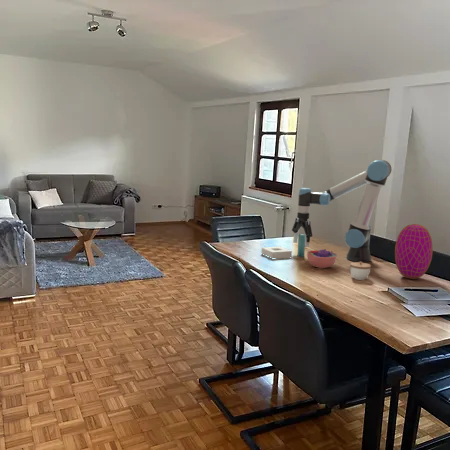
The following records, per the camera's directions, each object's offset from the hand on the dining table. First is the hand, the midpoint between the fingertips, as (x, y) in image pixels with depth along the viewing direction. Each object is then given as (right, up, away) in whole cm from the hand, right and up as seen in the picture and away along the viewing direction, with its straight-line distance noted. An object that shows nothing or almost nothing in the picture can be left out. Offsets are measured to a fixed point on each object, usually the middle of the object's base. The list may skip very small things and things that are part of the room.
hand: (300, 244), depth 304 cm
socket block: (-16, -7, -2) cm, 18 cm away
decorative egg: (+54, -17, -43) cm, 71 cm away
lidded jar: (+24, -16, -48) cm, 56 cm away
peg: (0, -7, +1) cm, 7 cm away
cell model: (+8, -12, -26) cm, 30 cm away
